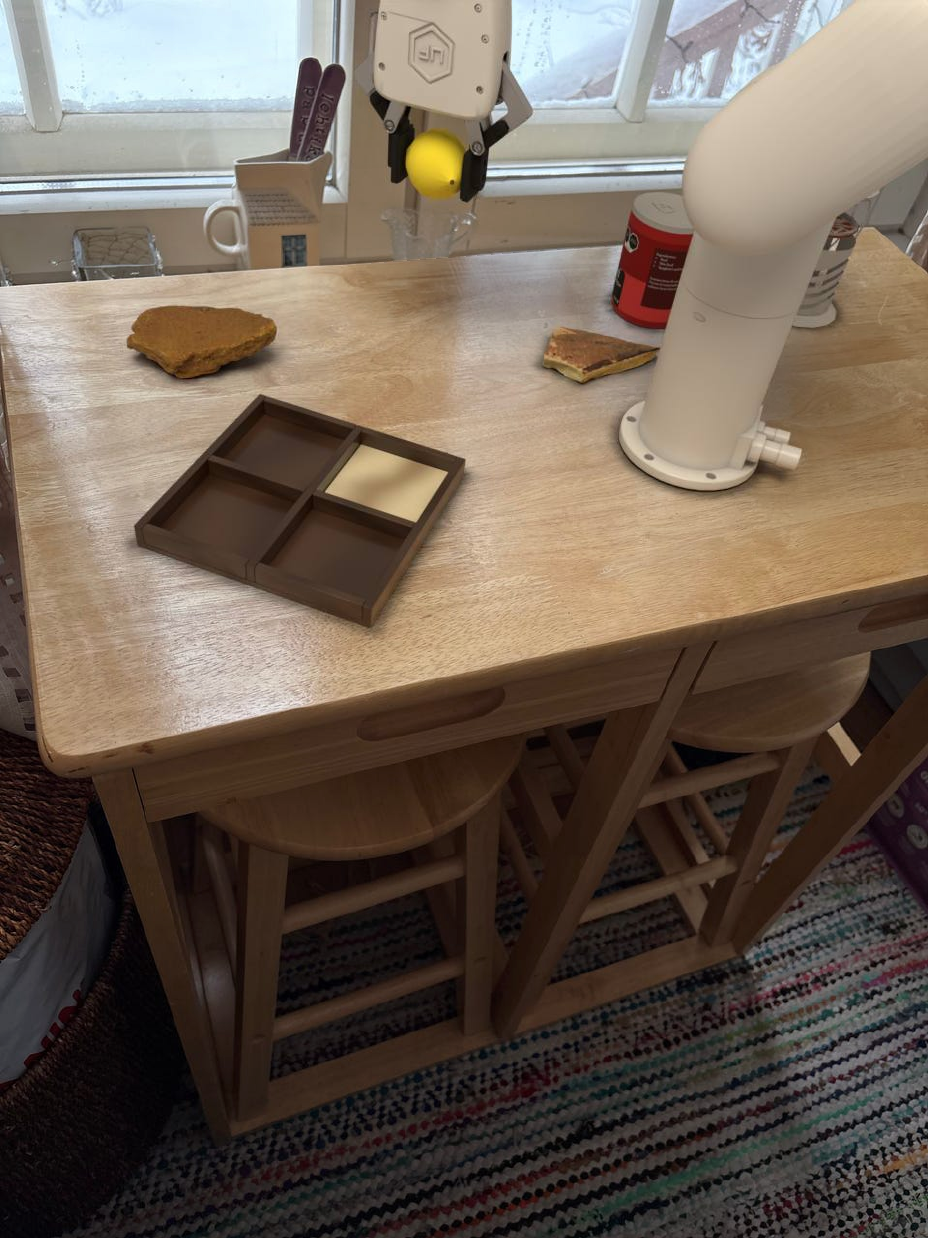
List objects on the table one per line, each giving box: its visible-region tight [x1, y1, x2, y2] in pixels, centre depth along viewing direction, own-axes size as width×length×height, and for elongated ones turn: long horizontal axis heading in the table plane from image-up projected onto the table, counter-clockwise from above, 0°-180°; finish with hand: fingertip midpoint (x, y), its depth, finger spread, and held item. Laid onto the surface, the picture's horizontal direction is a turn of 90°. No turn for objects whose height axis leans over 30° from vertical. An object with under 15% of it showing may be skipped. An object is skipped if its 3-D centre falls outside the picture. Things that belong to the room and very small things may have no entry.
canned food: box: [610, 191, 695, 329], centre depth 101 cm, size 8×8×11 cm
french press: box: [792, 188, 881, 329], centre depth 100 cm, size 10×12×25 cm
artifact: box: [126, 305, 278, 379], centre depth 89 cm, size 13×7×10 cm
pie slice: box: [542, 326, 660, 384], centre depth 95 cm, size 11×8×2 cm
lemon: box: [406, 127, 468, 200], centre depth 83 cm, size 7×5×5 cm
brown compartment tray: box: [133, 393, 467, 629], centre depth 77 cm, size 19×19×2 cm
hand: (435, 184), depth 84 cm, fingers closed on lemon, 5 cm apart
